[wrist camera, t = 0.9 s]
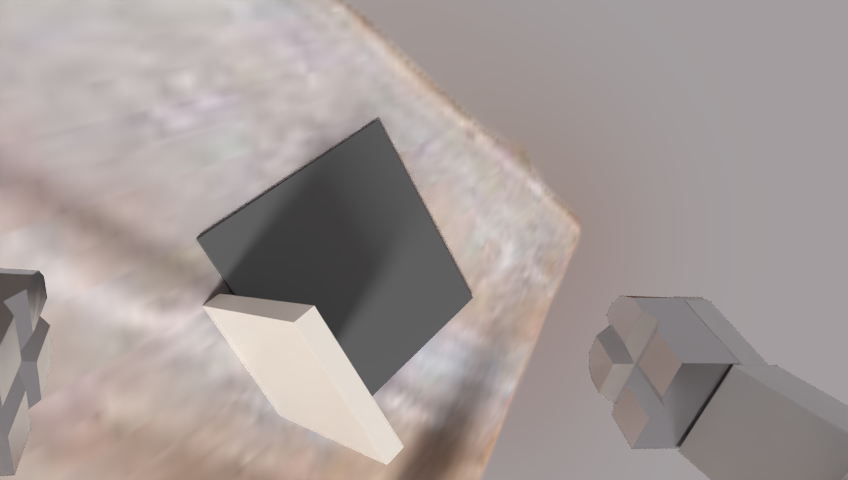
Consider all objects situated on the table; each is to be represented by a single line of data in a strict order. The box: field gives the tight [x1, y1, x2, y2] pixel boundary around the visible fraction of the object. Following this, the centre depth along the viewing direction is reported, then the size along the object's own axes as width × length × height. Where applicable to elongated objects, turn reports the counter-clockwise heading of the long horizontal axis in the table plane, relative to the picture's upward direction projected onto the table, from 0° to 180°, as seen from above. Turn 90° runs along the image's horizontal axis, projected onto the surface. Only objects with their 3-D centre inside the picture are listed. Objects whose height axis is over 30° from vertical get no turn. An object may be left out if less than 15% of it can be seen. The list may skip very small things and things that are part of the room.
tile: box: [203, 294, 404, 465], centre depth 40 cm, size 10×2×14 cm, turn 34°
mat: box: [197, 120, 473, 396], centre depth 50 cm, size 18×18×1 cm
